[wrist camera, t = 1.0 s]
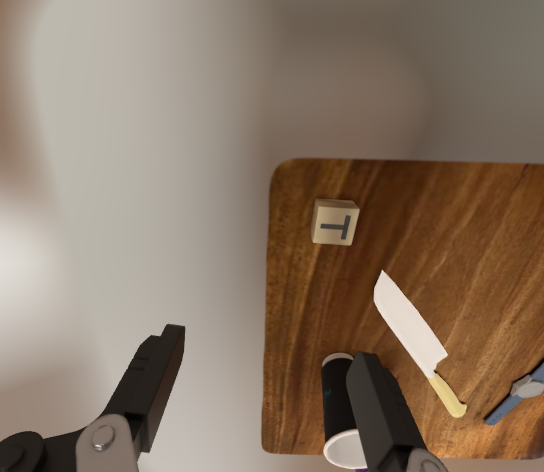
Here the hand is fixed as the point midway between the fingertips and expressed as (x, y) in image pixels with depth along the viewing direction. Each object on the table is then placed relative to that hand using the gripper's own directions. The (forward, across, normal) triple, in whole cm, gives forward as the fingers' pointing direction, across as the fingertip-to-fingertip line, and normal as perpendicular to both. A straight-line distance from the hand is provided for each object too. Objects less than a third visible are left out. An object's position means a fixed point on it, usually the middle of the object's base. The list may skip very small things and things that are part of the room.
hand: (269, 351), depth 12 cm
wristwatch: (+18, -44, +21) cm, 52 cm away
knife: (+18, -26, +17) cm, 36 cm away
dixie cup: (+18, -14, +22) cm, 32 cm away
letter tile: (+18, -6, 0) cm, 19 cm away
